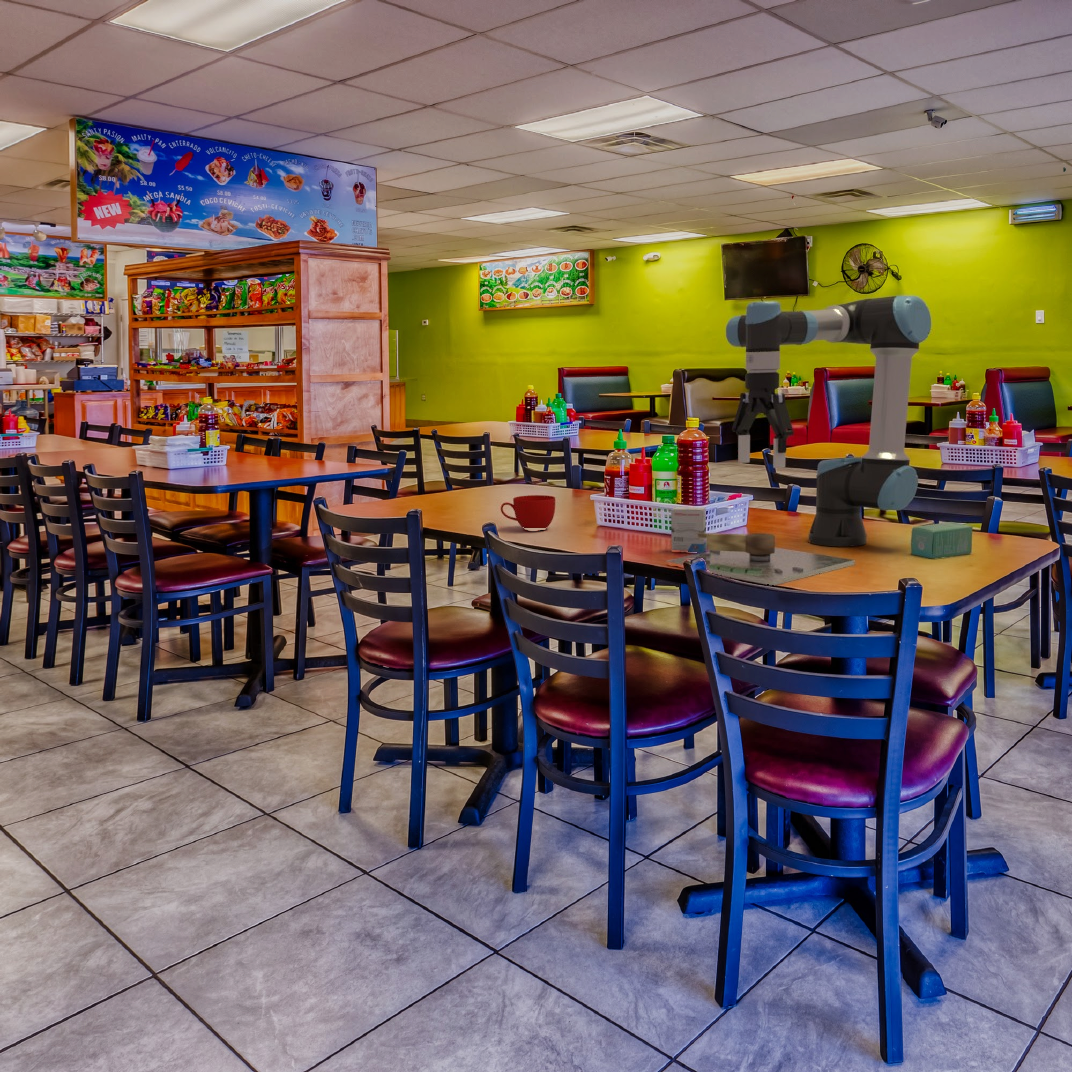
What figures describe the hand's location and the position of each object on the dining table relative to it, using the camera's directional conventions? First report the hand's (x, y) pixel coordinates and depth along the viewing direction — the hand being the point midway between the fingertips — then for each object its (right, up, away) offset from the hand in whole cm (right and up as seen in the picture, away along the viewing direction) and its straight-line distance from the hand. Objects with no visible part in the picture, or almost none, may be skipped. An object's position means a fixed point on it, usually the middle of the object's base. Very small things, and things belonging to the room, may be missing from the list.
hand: (761, 465), depth 218 cm
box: (+51, -21, +22) cm, 59 cm away
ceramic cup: (-54, -15, +73) cm, 92 cm away
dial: (-3, -20, +16) cm, 25 cm away
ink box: (-11, -21, +33) cm, 41 cm away
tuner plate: (+3, -23, +14) cm, 27 cm away
